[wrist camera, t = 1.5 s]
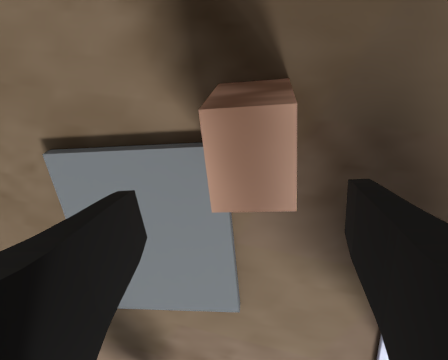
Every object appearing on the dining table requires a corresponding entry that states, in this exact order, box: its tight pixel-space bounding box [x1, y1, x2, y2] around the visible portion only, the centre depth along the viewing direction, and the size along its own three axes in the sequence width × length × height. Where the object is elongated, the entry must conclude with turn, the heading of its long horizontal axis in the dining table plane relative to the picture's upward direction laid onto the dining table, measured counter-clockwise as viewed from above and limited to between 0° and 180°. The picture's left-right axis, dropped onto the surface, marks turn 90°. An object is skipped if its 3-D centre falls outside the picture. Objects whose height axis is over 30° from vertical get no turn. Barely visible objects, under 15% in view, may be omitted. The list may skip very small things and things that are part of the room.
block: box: [198, 78, 297, 213], centre depth 17 cm, size 4×5×6 cm
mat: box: [42, 142, 240, 312], centre depth 24 cm, size 12×14×1 cm
